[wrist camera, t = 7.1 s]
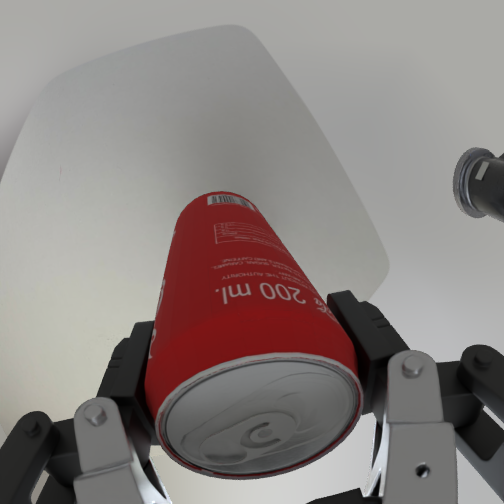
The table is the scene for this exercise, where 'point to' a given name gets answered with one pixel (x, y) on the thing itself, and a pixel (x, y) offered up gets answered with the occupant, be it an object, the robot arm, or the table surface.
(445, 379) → the robot arm
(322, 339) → the beverage can
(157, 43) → the table surface
